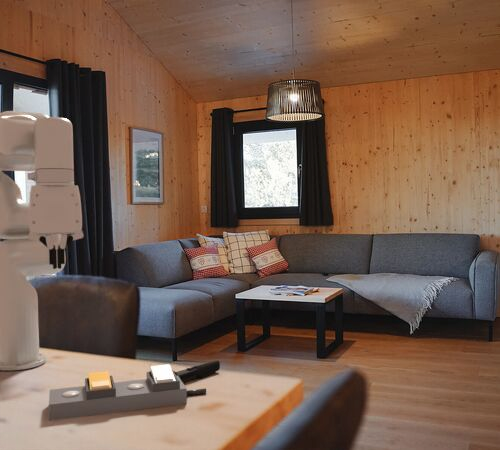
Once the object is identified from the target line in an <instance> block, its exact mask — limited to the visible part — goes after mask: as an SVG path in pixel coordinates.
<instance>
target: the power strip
mask: <svg viewBox="0 0 500 450" xmlns="http://www.w3.org/2000/svg"><path fill="white" fill-rule="evenodd" d="M171 370H172V372H173V371H174V370H173V369H172V368H171ZM173 375H174V377H175V380H176V381H170V382H161V383H154V381H153V377H152V374H151V371H150V370H149V371H146V378H144V379H136V380H128V381H127V380H126V381H118V382H117V381H116V382H114V378H113V375H110V380H111V386H112V388H108V389H99V390H90V386H89V377H87V378H84V385H81V386H79V385H78V386H73V387H63V388H52V389H50V390H49V394H48V395H49V399H48V420H49V421H57V420H66V419H74V418H80V417H88V416H89V417H90V416H97V415H104V414H112V413H121V412H128V411H136V410H143V409H152V408H160V407H170V406H176V405H184V404H185V405H186V404H187V403H188V399H187V398H188V396H194V395H195V396H196V395H202V394H203V395H204V394H207V388H198V389H188V390H187V387H186V385H185V384H184V382H182V381H181V379H180V378H179V377H178V376H176V375H175V373H174V372H173Z"/></svg>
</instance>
